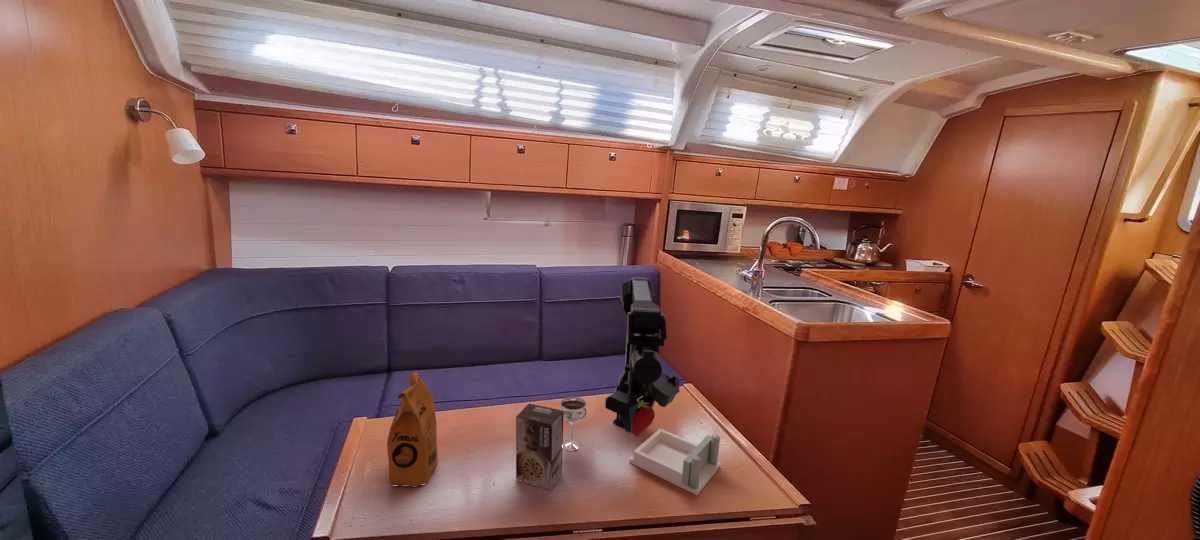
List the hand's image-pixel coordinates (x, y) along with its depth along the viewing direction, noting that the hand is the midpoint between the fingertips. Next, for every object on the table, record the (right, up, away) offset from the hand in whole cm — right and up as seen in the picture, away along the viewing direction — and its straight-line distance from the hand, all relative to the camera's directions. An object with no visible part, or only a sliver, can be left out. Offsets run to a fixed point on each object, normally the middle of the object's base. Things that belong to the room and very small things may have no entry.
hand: (637, 425), depth 103 cm
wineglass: (-16, -10, +12) cm, 22 cm away
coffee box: (-23, -12, 0) cm, 26 cm away
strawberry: (0, -3, +1) cm, 3 cm away
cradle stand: (+10, -12, +7) cm, 17 cm away
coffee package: (-51, -11, 0) cm, 52 cm away
